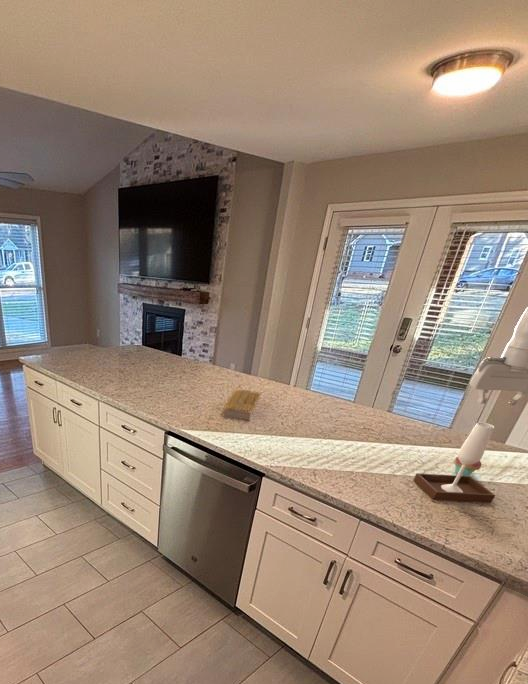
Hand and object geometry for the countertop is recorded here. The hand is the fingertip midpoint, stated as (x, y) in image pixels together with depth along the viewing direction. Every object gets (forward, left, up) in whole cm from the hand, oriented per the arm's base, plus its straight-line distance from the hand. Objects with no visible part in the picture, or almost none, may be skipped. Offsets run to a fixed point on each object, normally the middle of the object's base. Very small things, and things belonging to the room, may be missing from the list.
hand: (496, 404), depth 129 cm
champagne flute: (0, 0, -31) cm, 31 cm away
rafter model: (+62, -78, -32) cm, 105 cm away
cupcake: (-13, -15, -32) cm, 38 cm away
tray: (0, 0, -32) cm, 32 cm away
